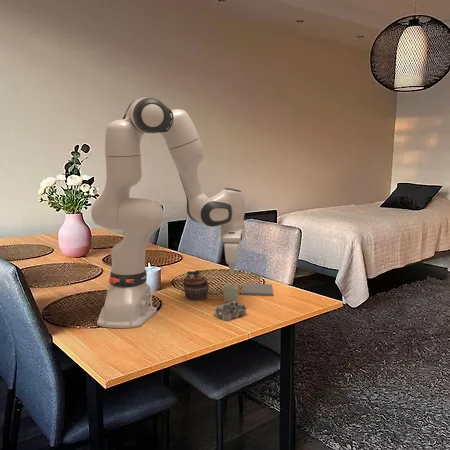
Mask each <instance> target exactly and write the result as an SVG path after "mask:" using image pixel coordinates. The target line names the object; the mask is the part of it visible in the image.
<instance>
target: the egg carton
mask: <svg viewBox="0 0 450 450" xmlns="http://www.w3.org/2000/svg"><path fill="white" fill-rule="evenodd" d="M248 308H249V307H248V306H245V304H243V303H241V302H238V301H237V302H236V301H235V300H234V301H229V302H227V303H226V302H225V303H224V304H221V305H220V304H219V305H215V306H214V307H213V308H212V309H213V310H212V311H215V312H214V313H215V315H214V317H215V318H216V319H220V318H221V319H222V321H227V322H230V321H232V319H239V317H241V316H242V317H245V316H246V311H247V310H248Z"/></svg>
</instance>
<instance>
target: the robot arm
mask: <svg viewBox="0 0 450 450" xmlns="http://www.w3.org/2000/svg"><path fill="white" fill-rule="evenodd" d="M157 133H158V134H161V137H163V139H164V141H165V144H166V146H167V149H168V151H169V154H170V156H171V158H172V161H173V162H174V164H175V167H176V170H177V172H178V176H179V178H180V182H181V184H182V187H183V191H184V193H185V194H184V195H185V198H186V212H187V216H188V217H189V219H191V221H193V222H195V223H200V224H201V225H205V226H207V227H213V228H214V227H218V226H220V238H221V240H222V243H223V247H224V248H223V249H224V257H225V259H224V260H225V263H226V264H227V265H228V269H229V271H228V272H229V274H235V267H236V264H237V263H238V256H239V255H238V254H239V246H240V244H241V242H242V240H243V239H245V237H246V235H245V234H246V232H245V231H246V226H245V225H246V224H245V214H246V202H245V196H244V195H245V194H244V193H243V192H242V191H241V190H239V189H235V188H231V187H223V188H222V190H221V191H219V192H218V193H216V194H214V195H213V196H211V197H209V196H207V194H205V193H204V190H203V188H202V187H203V186H202V184H201V181H200V178H199V175H198V167H199V165H200V164H201V162H202V161H203V159H204V156H205V155H204V149H203V148H204V147H203V143H202V141H201V138H200V136H199V133H198V130H197V128H196V126H195V124H194V121H193V120H192V118H191V117H190V115H189V114H188V112H187V111H185V109H181V108H180V109H179V108H176V109H170V108H169V107H168V106H167V105H165V104H164V103H163V102H162V101H160V100H159V99H157V98H154V97H148V96H146V97H145V96H144V97H139V98H137V99H135V100H132V102H131V103H130V104H129V105H128V107H127V109H126V111H125V113H124V115H123V117H122V119H116V120H113V121H111V122H109V124H108V125H106V130H105V137H104V138H105V139H104V141H105V144H104V151H105V152H104V154H105V166H106V167H105V168H106V169H105V170H106V174H105V175H106V179H105V185H104V190H103V192H102V193H101V195H100V196H99V197H98V198H97V199H95V201H94V202H93V204H92V207H91V210H90V212H91V213H90V214H91V218H92V221H93V223H94V224H95V225H96V226H99V227H102V228H104V229H107V230H115V231H123V232H124V233H123V238H122V240H120V241H119V242H118V243H116V244H114V246H113V247H112V248H111V252H110V255H111V256H110V257H111V258H110V259H111V271H110V275H109V278H108V284H109V285H108V286H107V287H108V289H107V292H106V297H105V300H104V305H103V306H102V308H101V309H100V310H101V311H100V313H99V316H98V319H97V321H96V325H97V326H99V327H102V328H103V327H104V328H110V329H111V328H115V329H130V328H131V329H133V328H137V327H140V326H141V325H143V324H145V322H147V321H148V320H149V319H150V318H152V317H153V316H154V315H155V314H156V313H157V312H158V310H157V307H155V306H153V295H152V287H151V286H150V285H149V284H148V282H147V276H148V274H147V270H146V249H147V246H148V242H149V240H150V238H151V236H152V235H153V234H154V233H155V232H157V231H158V230H159V229H160V228H161V227H162V224H163V222H164V218H165V213H164V209H163V207H162V205H161V204H160V203H159V202H157V201H154V200H151V199H147V198H139V197H130V194H131V193H130V192H131V188H132V187H134V186H136V185H137V184H138V183H139V182H141V179H142V177H143V176H142V175H143V173H142V156H141V139H142V136H143V135H144V134H157Z"/></svg>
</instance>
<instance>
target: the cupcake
mask: <svg viewBox="0 0 450 450" xmlns="http://www.w3.org/2000/svg"><path fill="white" fill-rule="evenodd" d="M182 286H183V289H184V294H185V298H186V299H187V300H190V301H193V302H194V301H198V302H199V301H204V300H206V299H207V298H208V292H209V288H210V284H209V282H208V279H207V277H205V276H204V275H203V274H202V273H201V272H200V270H198V269H197V270H195V271H189V270H188V271H187V273H186V276H185V277H184V278H183V283H182Z"/></svg>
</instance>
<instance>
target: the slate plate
mask: <svg viewBox="0 0 450 450" xmlns="http://www.w3.org/2000/svg"><path fill="white" fill-rule="evenodd" d="M241 284H242V285H241V286H242V287H241V296H255V297H257V296H258V297H259V296H263V297H268V296H269V297H274V288H273V284H271V283H270V284H269V283H268V284H267V283H241Z"/></svg>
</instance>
